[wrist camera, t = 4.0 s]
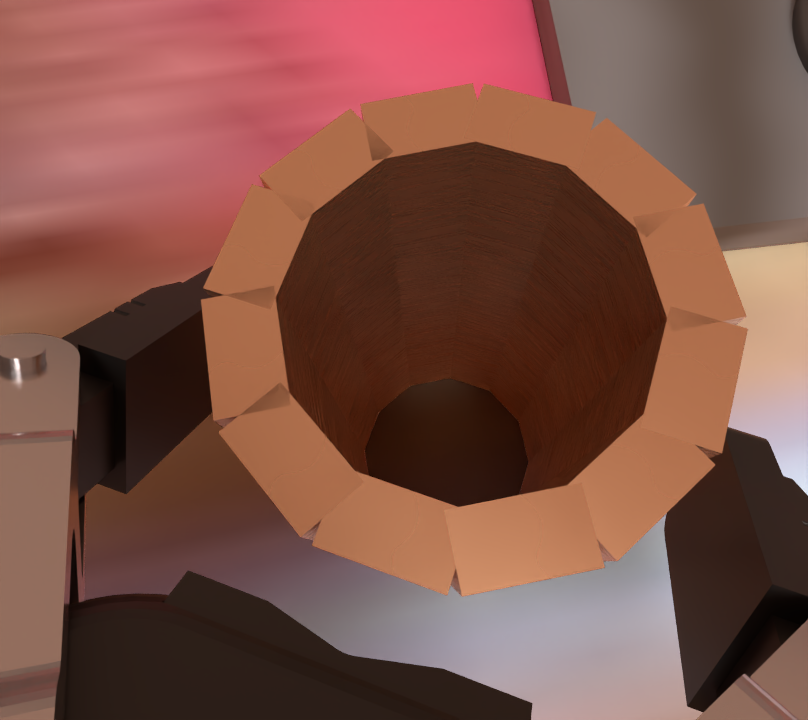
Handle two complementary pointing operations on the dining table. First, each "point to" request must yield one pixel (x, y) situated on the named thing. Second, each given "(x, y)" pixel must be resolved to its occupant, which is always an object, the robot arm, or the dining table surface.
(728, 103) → the shaft stand
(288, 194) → the copper collar
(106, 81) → the dining table surface
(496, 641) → the dining table surface
